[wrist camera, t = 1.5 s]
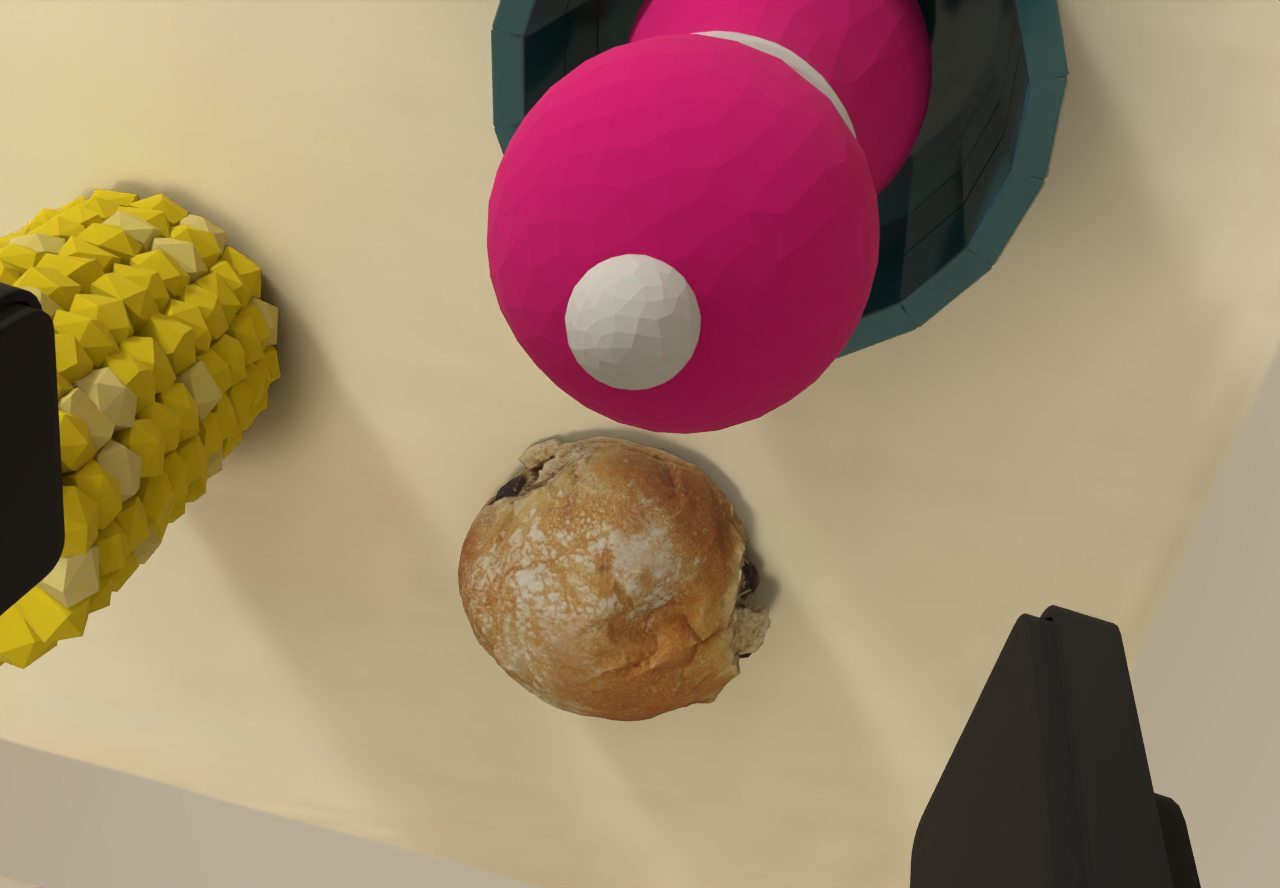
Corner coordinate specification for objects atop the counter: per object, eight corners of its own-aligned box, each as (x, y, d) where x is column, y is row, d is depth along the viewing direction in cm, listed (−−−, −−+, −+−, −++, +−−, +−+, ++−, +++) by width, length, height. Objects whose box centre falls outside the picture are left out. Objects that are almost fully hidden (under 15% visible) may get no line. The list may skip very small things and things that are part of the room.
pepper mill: (611, 34, 33) (241, 305, 16) (814, -167, 29) (623, -101, 12) (780, 230, 34) (611, 669, 17) (991, 60, 31) (1042, 401, 14)
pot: (618, -277, 29) (534, -293, 23) (1126, -152, 28) (1174, -136, 22) (538, 198, 36) (456, 281, 30) (948, 316, 35) (948, 425, 29)
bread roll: (664, 359, 42) (524, 387, 35) (852, 590, 39) (740, 668, 32) (511, 525, 47) (364, 577, 40) (670, 740, 44) (541, 833, 37)
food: (73, 144, 40) (351, 241, 40) (22, 451, 44) (277, 541, 44) (-318, 182, 26) (114, 334, 26) (-345, 634, 30) (33, 768, 30)
